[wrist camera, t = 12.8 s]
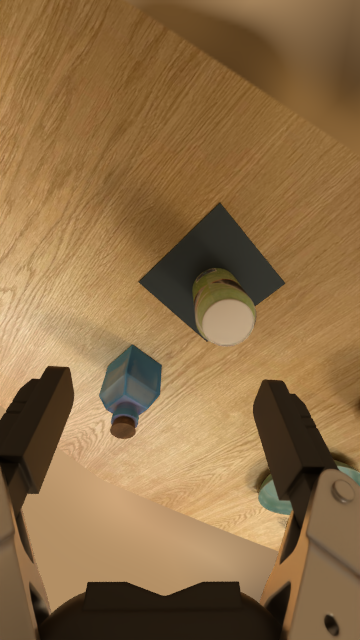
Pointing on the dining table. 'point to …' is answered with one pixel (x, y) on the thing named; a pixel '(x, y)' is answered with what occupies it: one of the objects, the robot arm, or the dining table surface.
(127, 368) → the perfume bottle
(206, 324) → the beverage can
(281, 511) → the saucer
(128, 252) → the dining table surface
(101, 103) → the dining table surface
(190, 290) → the mat
